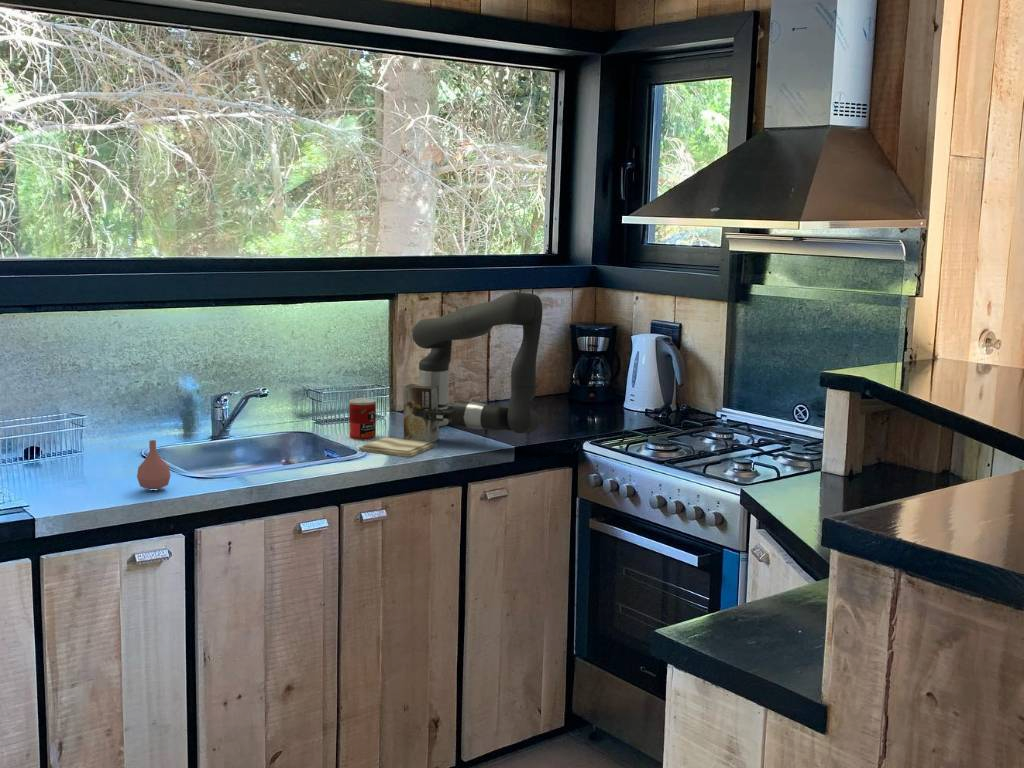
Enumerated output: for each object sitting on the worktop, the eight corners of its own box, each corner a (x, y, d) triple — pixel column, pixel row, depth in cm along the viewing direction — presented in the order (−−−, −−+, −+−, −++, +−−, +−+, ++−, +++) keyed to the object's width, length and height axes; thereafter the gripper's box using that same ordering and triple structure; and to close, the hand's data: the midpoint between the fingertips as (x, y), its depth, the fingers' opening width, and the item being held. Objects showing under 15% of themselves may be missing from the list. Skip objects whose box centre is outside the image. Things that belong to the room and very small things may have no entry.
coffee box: (439, 439, 329) (440, 385, 327) (431, 443, 323) (432, 388, 321) (410, 436, 332) (410, 383, 329) (402, 440, 326) (402, 386, 323)
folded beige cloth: (385, 441, 325) (385, 436, 324) (433, 447, 318) (433, 442, 318) (359, 450, 312) (359, 445, 312) (409, 457, 305) (409, 451, 305)
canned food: (363, 441, 325) (362, 403, 323) (343, 437, 329) (343, 400, 328) (381, 436, 331) (381, 400, 329) (362, 433, 335) (362, 397, 334)
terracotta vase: (159, 484, 273) (157, 436, 271) (177, 489, 268) (175, 440, 266) (131, 490, 267) (129, 441, 265) (148, 495, 262) (146, 445, 260)
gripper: (482, 398, 325) (433, 393, 332) (460, 406, 312) (409, 400, 319) (482, 423, 326) (433, 418, 333) (459, 432, 314) (409, 426, 320)
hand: (421, 409), depth 326 cm, fingers open, 8 cm apart
